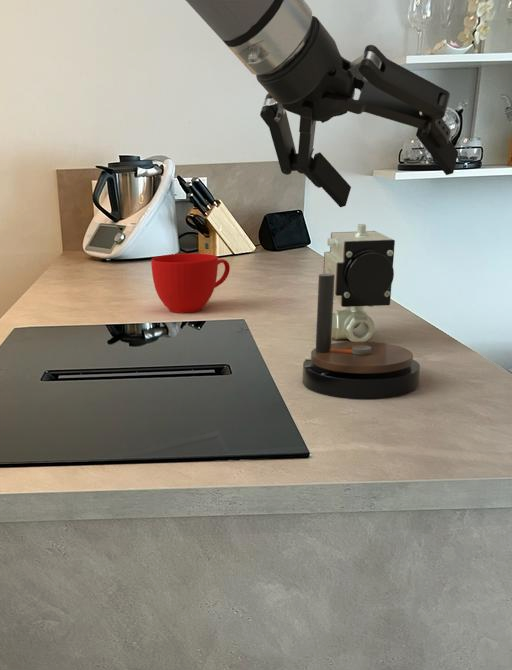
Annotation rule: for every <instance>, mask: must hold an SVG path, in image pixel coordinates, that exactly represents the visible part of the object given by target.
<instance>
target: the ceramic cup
mask: <svg viewBox="0 0 512 670" xmlns="http://www.w3.org/2000/svg"><path fill="white" fill-rule="evenodd" d="M150 263H151V275H152V281H153V285H154V289H155V293H156V294H157V296H158V298H159V300H160V302H161V303H162V304H163V305H164V306H165V307H166V308H167V309H168V311H169V312H172V313H179V314H184V313H185V314H186V313H187V314H188V313H189V314H190V313H196V312H200V311H202V310H203V308H204V307H205V306H206V304H207V303H208V301H209V300H210V299H211V297H212V295H213V293H214V290H215V288H217V287H219V286H220V285H222V284H223V283H224V282H225V281H227V279H228V276H229V274H230V270H231V266H230V263H229V262H228V261H227V260H226V259H225V258H219V256H218V255H215V254H209V253H174V254H164V255H158V256H154V257H152V258H151V261H150ZM220 264H223V265H224V270H223V273H222V275H221V277H220V278H219V279H218V266H219V265H220ZM217 279H218V280H217Z"/></svg>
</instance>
